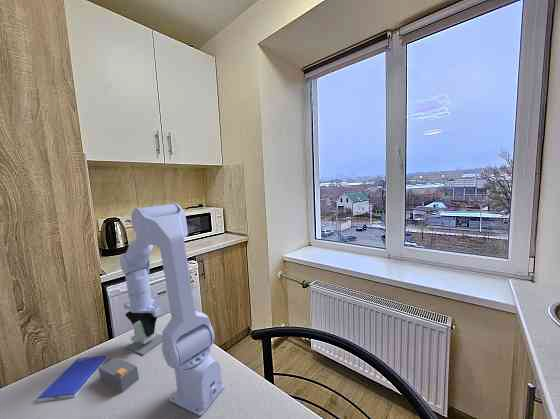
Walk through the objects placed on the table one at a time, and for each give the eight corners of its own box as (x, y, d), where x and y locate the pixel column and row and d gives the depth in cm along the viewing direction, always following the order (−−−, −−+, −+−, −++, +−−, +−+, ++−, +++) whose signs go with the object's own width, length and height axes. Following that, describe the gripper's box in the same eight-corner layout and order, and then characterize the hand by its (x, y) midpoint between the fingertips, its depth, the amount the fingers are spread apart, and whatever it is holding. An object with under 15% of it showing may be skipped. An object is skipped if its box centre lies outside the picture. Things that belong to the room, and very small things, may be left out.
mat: (167, 338, 76) (167, 337, 76) (143, 355, 69) (143, 354, 69) (150, 332, 79) (150, 331, 79) (125, 348, 72) (125, 347, 72)
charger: (156, 335, 75) (154, 319, 74) (138, 348, 70) (135, 330, 69) (148, 332, 77) (145, 316, 76) (129, 344, 71) (127, 327, 71)
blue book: (76, 358, 68) (36, 397, 56) (107, 354, 69) (74, 393, 56) (77, 363, 68) (37, 403, 56) (108, 359, 69) (75, 399, 57)
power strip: (139, 378, 60) (137, 363, 60) (122, 392, 57) (120, 376, 56) (117, 368, 64) (115, 354, 64) (100, 380, 61) (98, 365, 60)
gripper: (167, 288, 72) (173, 330, 74) (136, 282, 79) (142, 321, 80) (145, 299, 66) (152, 345, 68) (114, 292, 72) (120, 334, 74)
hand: (145, 333), depth 74 cm, fingers closed on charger, 4 cm apart
